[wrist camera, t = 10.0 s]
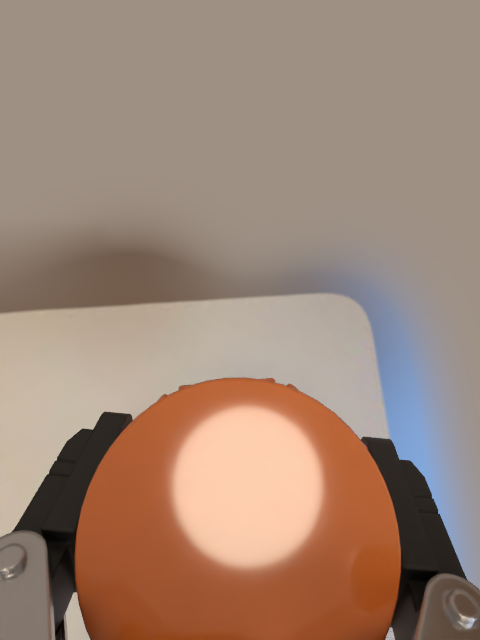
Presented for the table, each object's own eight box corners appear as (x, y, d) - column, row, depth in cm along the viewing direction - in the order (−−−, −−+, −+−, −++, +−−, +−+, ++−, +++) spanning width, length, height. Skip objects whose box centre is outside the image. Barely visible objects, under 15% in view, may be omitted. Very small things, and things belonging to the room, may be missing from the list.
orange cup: (353, 479, 15) (465, 519, 8) (249, 624, 14) (260, 848, 6) (230, 374, 16) (221, 319, 9) (123, 499, 15) (4, 562, 8)
